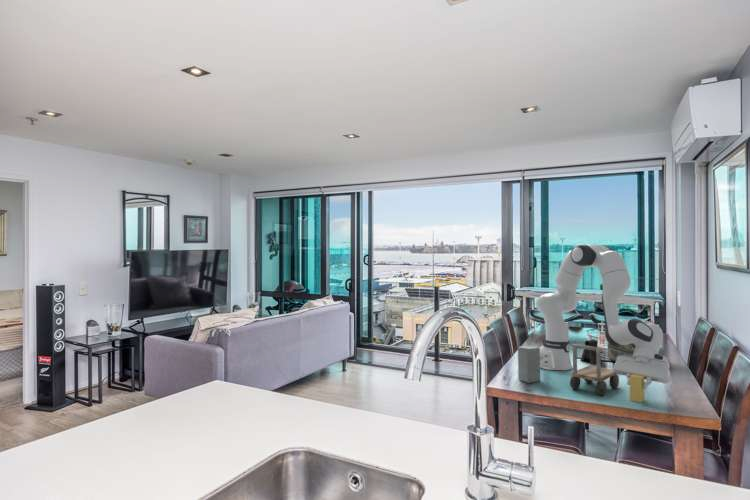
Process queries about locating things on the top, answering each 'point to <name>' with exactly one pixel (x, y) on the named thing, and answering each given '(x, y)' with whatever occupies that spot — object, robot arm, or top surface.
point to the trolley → (592, 372)
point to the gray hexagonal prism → (529, 364)
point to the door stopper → (590, 353)
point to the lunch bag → (623, 349)
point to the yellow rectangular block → (636, 388)
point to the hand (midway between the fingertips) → (636, 386)
